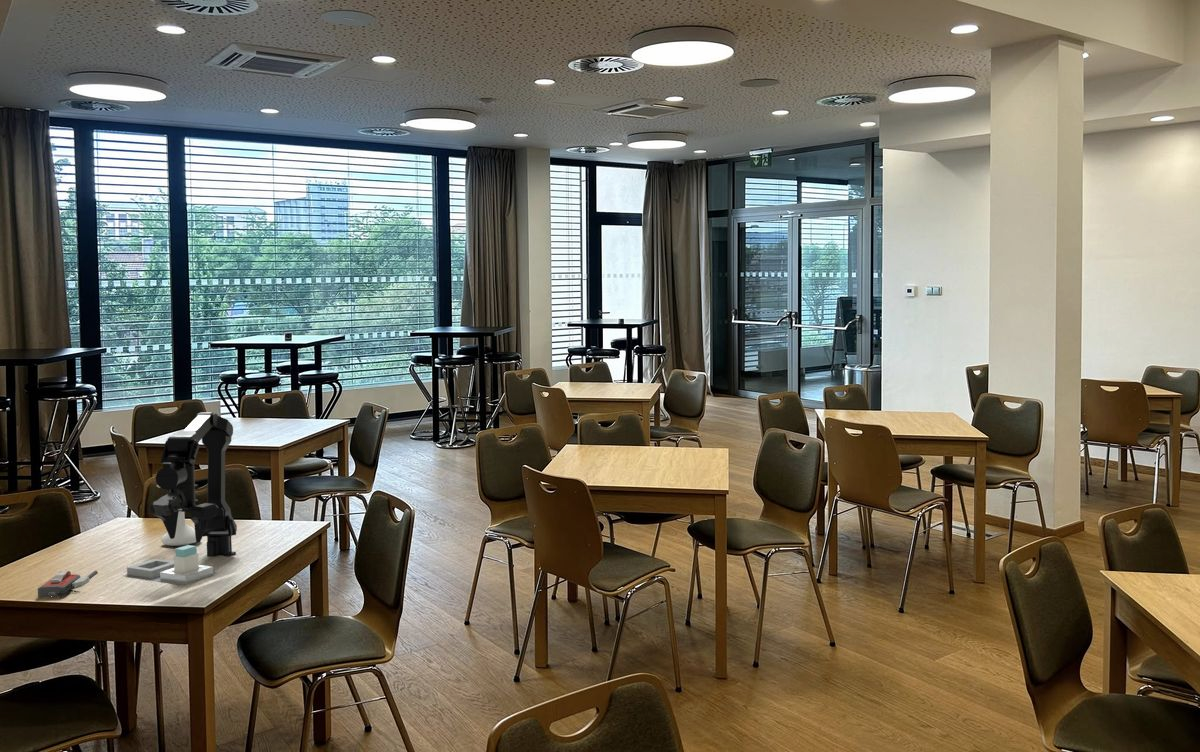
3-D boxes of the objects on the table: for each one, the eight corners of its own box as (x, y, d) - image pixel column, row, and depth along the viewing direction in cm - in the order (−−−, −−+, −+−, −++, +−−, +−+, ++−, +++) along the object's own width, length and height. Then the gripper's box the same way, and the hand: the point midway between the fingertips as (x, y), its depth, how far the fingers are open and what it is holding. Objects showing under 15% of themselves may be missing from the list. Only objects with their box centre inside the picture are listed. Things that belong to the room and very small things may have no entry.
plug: (174, 578, 260) (173, 549, 260) (189, 573, 265) (188, 544, 264) (184, 580, 259) (183, 550, 258) (199, 575, 263) (197, 545, 263)
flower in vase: (183, 537, 307) (180, 459, 305) (209, 541, 302) (207, 461, 300) (148, 547, 295) (144, 465, 293) (175, 551, 290) (172, 468, 288)
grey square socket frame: (127, 574, 264) (126, 567, 264) (155, 565, 273) (155, 558, 272) (151, 578, 260) (151, 571, 260) (179, 569, 269) (179, 562, 269)
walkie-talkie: (71, 599, 247) (100, 576, 266) (70, 582, 246) (100, 560, 266) (34, 600, 245) (66, 577, 265) (33, 583, 245) (65, 561, 265)
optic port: (160, 579, 259) (159, 572, 259) (188, 570, 268) (187, 563, 268) (185, 583, 256) (185, 575, 256) (213, 573, 264) (213, 566, 264)
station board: (122, 578, 263) (121, 575, 263) (158, 567, 274) (157, 564, 274) (183, 588, 254) (183, 585, 254) (218, 575, 265) (218, 572, 265)
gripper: (132, 485, 256) (134, 543, 257) (186, 490, 249) (188, 550, 250) (166, 478, 266) (168, 534, 267) (218, 482, 259) (220, 540, 260)
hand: (185, 540), depth 261 cm, fingers open, 9 cm apart
